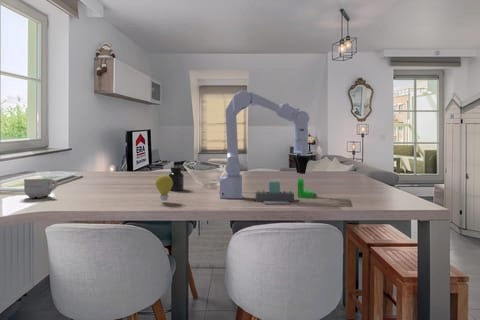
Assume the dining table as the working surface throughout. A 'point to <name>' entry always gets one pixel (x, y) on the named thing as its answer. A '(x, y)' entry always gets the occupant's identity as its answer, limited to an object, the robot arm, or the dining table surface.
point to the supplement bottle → (177, 179)
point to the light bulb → (164, 186)
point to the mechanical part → (301, 190)
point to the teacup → (39, 187)
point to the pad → (275, 202)
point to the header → (274, 196)
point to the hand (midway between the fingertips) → (300, 173)
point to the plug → (274, 186)
